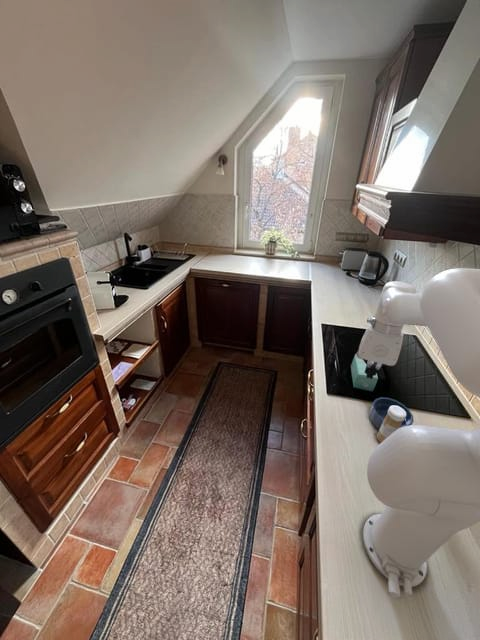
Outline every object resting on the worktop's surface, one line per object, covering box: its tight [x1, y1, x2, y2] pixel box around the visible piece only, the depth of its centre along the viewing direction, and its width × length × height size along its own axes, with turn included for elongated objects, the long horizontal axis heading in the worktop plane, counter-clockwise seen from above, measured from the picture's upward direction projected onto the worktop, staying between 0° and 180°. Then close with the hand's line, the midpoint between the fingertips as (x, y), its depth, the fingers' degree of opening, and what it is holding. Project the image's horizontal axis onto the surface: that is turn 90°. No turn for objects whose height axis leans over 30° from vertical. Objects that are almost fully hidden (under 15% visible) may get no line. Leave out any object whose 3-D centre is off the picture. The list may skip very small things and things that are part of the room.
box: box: [350, 353, 379, 392], centre depth 104 cm, size 7×14×8 cm, turn 164°
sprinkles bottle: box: [376, 405, 406, 443], centre depth 78 cm, size 5×5×14 cm
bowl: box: [368, 397, 415, 430], centre depth 86 cm, size 12×12×5 cm
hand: (369, 375), depth 80 cm, fingers closed
